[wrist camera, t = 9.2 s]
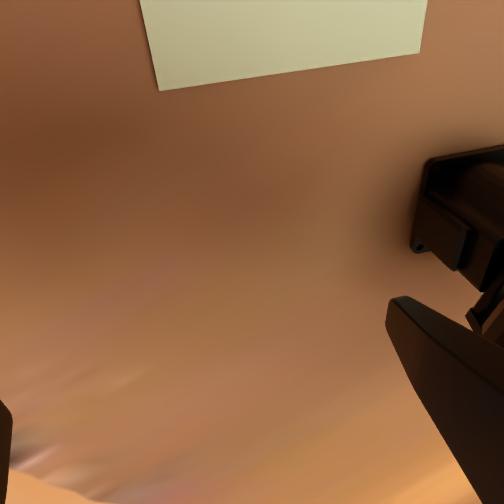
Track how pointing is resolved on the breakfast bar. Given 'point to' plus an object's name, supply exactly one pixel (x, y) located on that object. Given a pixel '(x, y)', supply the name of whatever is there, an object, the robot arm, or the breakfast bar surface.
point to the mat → (273, 36)
